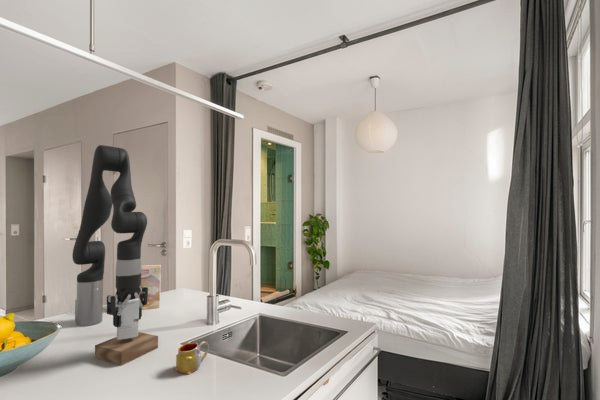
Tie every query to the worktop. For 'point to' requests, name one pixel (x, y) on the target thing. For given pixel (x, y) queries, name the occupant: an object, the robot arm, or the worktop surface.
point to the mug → (190, 357)
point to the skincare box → (129, 320)
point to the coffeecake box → (151, 285)
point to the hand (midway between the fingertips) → (127, 322)
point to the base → (126, 348)
